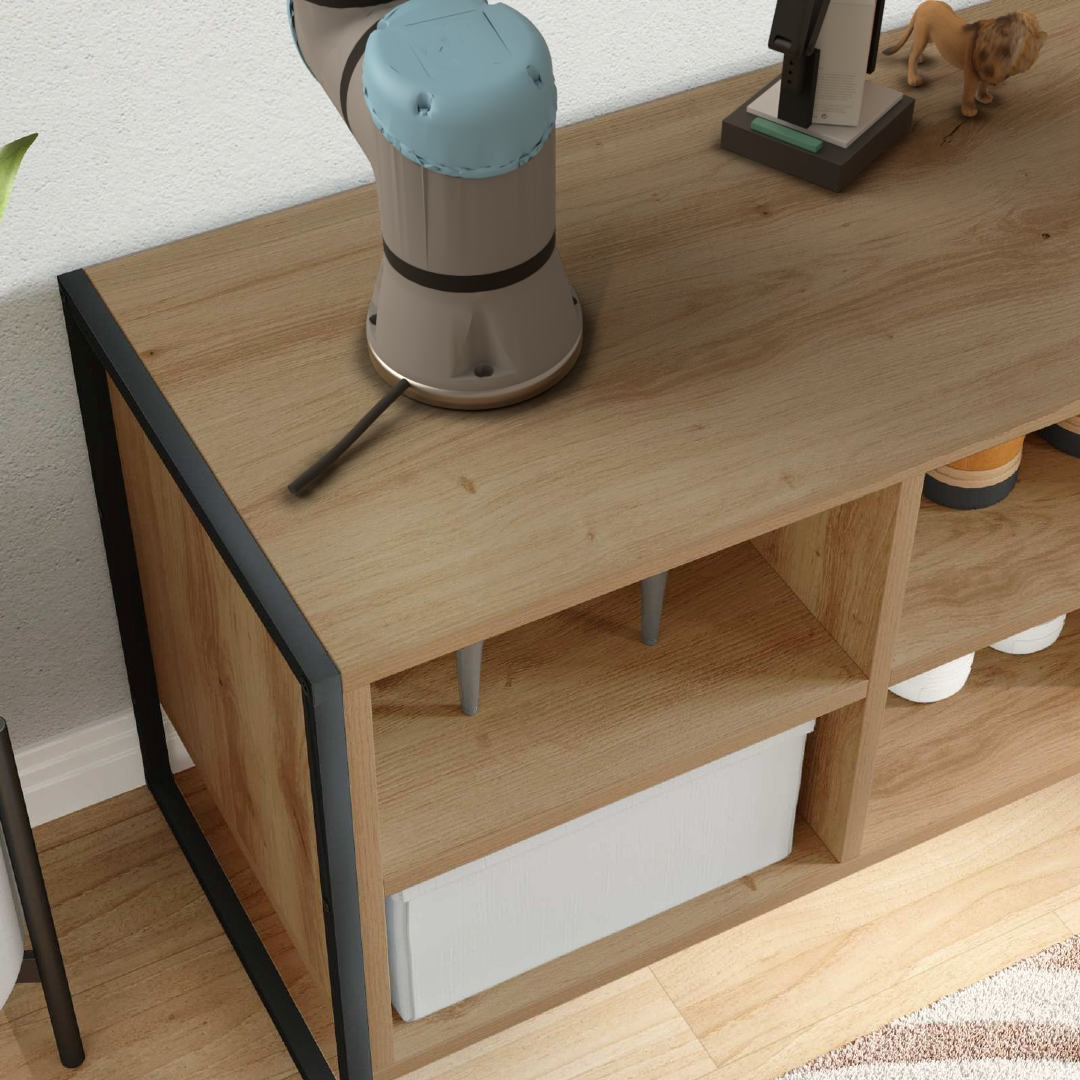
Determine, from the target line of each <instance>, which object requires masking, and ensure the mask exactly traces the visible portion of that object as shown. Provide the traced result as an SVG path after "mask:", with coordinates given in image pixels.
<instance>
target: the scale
mask: <svg viewBox="0 0 1080 1080" xmlns="http://www.w3.org/2000/svg"><path fill="white" fill-rule="evenodd" d="M781 76H782V72H781V73H779V74H778V75H777V76H776V77H774V78H773V79H772V80H771V81H769V82H768V83H767V84H766V85H764V86H763V87H762V88H760V90H758V91H757V92H756V93H754V94H753V95H752V96H751V97H750V98H748V99H747V100H745V101H744V102H743V103H742V104H741V105H740V106H738V107H737V108H736V109H735V110H733V111H732V112H731V113H729V114H728V115H727V116H726V117H724V118H723V119H722V121H721V132H720V145H719V146H720V148H721V149H723V150H727V151H729V152H732V153H734V154H737V155H739V156H742V157H745V158H747V159H750V160H752V161H755V162H757V163H760V164H763V165H765V166H768V167H771V168H773V169H775V170H778V171H781V172H782V173H783V172H784V173H786V174H789V175H791V176H794V177H797V178H799V179H802V180H804V181H807V182H809V183H811V184H814V185H817V186H819V187H822V188H824V189H827V190H830V191H833V192H835V193H840V192H841V190H842V189H844V188H845V187H846V186H847V185H848V184H849V183H850V182H852V180H853V179H855V177H857V176H858V175H859V174H860V173H861V172H862V171H863V170H864V169H866V167H868V166H869V165H870V164H871V163H872V162H873V161H875V160H876V158H877V157H879V156H880V155H881V154H882V153H883V152H884V151H885V150H886V149H887V148H888V147H890V146H891V145H892V144H893V143H894V142H895V141H896V140H897V139H899V137H900V136H902V135H903V134H904V133H905V132H906V131H907V130H908V129H909V128H911V126H912V124H913V123H912V122H913V118H914V111H915V106H916V102H917V101H916V98H915V97H912V96H909V95H906V94H904V93H903V92H901V91H898V90H895V89H893V88H891V87H890V88H889V87H887V86H884V85H881V84H878V83H875V82H873V81H870V80H868V79H865V85H864V91H863V99H862V106H861V112H860V119H859V125H858V126H847V125H834V124H822V123H812V125H811V126H810V127H809V128H808V129H805V128H802V127H799V126H796V125H794V124H791V123H788V122H786V121H783V120H780V119H777V115H778V106H779V96H780V86H781Z"/></svg>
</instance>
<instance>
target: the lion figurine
mask: <svg viewBox="0 0 1080 1080" xmlns="http://www.w3.org/2000/svg"><path fill="white" fill-rule="evenodd" d="M1039 24H1040V22H1039V20H1038V17H1037V16H1036V13H1034V12H1031V11H1029V10H1026V9H1025V10H1020V11H1018V10H1015V11H1013V12H1008V13H1007V14H1005V15H1001V16H999V17H995V18H993V17H992V18H989V19H986V18H983V19H982V18H981V19H978V20H977V21H975V22H973V23H970V22H967V20H964V19H963V18H961V17H960V16H959V15H957V13H956V12H955V11H954V9H953V8H952V7H951V5H950V4H948V3H947V2H945V1H942V0H924V1H923V2H921V3H920V4H919V5H918V6H917V8H916V9H915V10H914V13H913V14H912V16H911V19H910V21H909V23H908V26H907V28H906V30H905V31H904V34H903V35H902V37H901V39H900V40H899V41H898V42H897V43H896V44H895V45H892V46H889V47H887V48H885V49H883V50H881V54H882V55H884V56H887V57H889V56H892V55H895V54H896V53H898V52H899V51H900V49H902V48H903V47H904V46H905V44H906V43H907V42H908V40H909V38H910V37H911V35H912V33H913V41H912V44H911V46H910V49H909V58H908V73H907V83H908V85H909V86H911V87H917V86H921V85H922V84H923V78H922V77H921V76H920V75H919V73H918V64H920V63H923V62H924V61H925V54H924V51H925V50H926V48H927V46H928V44H931V43H933V44H934V45H935V48H936V49H937V52H938V53H939V55H940V56H941V58H942V59H943V60H944V61H945V62H946V63H948V64H949V65H951V66H952V67H954V68H956V69H959V70H961V71H963V92H962V99H961V114H962V115H963V116H964V117H969V118H970V117H974V116H976V115H977V114H978V109H977V108H976V102H975V99H976V100H977V101H978V102H979V103H982V104H985V105H986V104H990V103H992V102H993V99H994V96H993V94H991V93H990V92H987V90H988V88H989V85H990V84H994V85H996V86H998V85H1000V84H1002V83H1004V82H1005V81H1007V80H1008V79H1009V78H1010V77H1015V76H1016V75H1020V74H1025V73H1026V72H1027V71H1029V70H1031V68H1032V67H1033V66H1034V65H1035V64H1036V63H1037V61H1038V60H1039V57H1040V51H1041V49H1043V48H1044V47H1046V45H1047V42H1048V37H1049V35H1048V33H1047V32H1046V31H1044V30H1043V28H1042V27H1041V26H1040V25H1039Z"/></svg>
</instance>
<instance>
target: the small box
mask: <svg viewBox="0 0 1080 1080" xmlns="http://www.w3.org/2000/svg"><path fill="white" fill-rule="evenodd" d="M876 1H877V0H831V1H830V3H829V6H828V9H827V12H826V15H825V18H824V21H823V24H822V27H821V30H820V33H819V36H818V39H817V42H816V45H815V48H817V49H820V50H821V51H820V60H819V68H818V76H817V84H816V93H815V101H814V109H813V117H812V123H822V124H834V125H847V126H858V125H859V119H860V112H861V106H862V99H863V91H864V85H865V80H866V78H867V73H866V70H867V63H868V57H869V50H870V44H871V37H872V30H873V23H874V15H875V8H876Z"/></svg>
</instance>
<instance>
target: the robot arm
mask: <svg viewBox="0 0 1080 1080" xmlns="http://www.w3.org/2000/svg"><path fill="white" fill-rule="evenodd" d="M830 1H831V0H776V4H775V8H774V9H775V10H774V12H773V18H772V22H771V25H770V32H769V36H768V41H767V48H768V49H769V50H772V51H774V52H778V53H780V54H783V59H782V66H781V67H782V68H781V73H782V76H781V86H780V96H779V106H778V115H777V119H780V120H783V121H786V122H788V123H791V124H794V125H796V126H799V127H802V128H805V129H808V128H809V127H810V126H811V125H812V117H813V109H814V101H815V93H816V84H817V76H818V68H819V60H820V51H821V50H820V49H817V48H815V45H816V42H817V39H818V36H819V33H820V30H821V27H822V24H823V21H824V18H825V15H826V12H827V9H828V6H829V3H830ZM885 5H886V0H877V1H876V8H875V15H874V23H873V30H872V37H871V44H870V50H869V57H868V63H867V70H866V75H867V74H868V75H872V74H873V73H874V72H875V71H876V67H877V66H876V65H877V58H878V54H879V53H878V52H879V45H880V39H881V32H882V26H883V19H884V13H885ZM286 13H287V19H288V24H289V29H290V33H291V37H292V41H293V44H294V45H295V48H296V51H297V53H298V55H299V57H300V59H301V61H302V62H303V64H304V66H305V68H306V69H307V71H308V72H309V73H310V74H311V76H312V77H313V78H314V79H315V81H317V82H318V84H319V85H320V86H321V88H322V89H323V92H324V93H325V94H326V96H327V97H328V99H329V100H330V101H331V103H332V104H333V106H334V107H335V110H336V111H337V113H338V114H339V116H340V117H341V119H342V120H343V122H344V123H345V125H346V126H347V128H348V130H349V132H350V133H351V134H352V136H353V138H354V139H355V141H356V143H357V144H358V146H359V147H360V149H361V151H362V152H363V154H364V155H365V157H366V159H367V160H368V161H369V163H370V166H371V169H372V172H373V176H374V180H375V183H376V184H375V185H376V194H377V202H378V210H379V211H378V212H379V221H380V230H381V231H380V232H381V239H382V246H383V256H382V258H381V263H380V266H379V270H378V273H377V277H376V280H375V284H374V287H373V291H372V296H371V300H370V302H369V306H368V309H367V316H366V321H365V334H366V342H367V350H368V356H369V358H370V362H371V364H372V366H373V368H374V369H375V371H376V372H377V374H378V375H379V376H380V377H381V378H382V379H383V381H384V382H385V383H387V384H388V385H389V386H390V387H392V388H391V389H390V390H389V391H388V392H387V393H386V394H385V395H384V396H383V397H382V398H380V400H379V401H378V402H376V404H375V405H373V407H372V408H371V409H369V411H368V412H367V413H366V414H365V415H364V416H362V418H361V419H360V420H359V421H358V422H357V423H356V424H355V425H354V427H352V428H351V429H350V430H349V432H347V434H345V436H343V438H342V439H340V441H339V442H338V443H337V444H335V445H334V446H333V447H332V448H331V449H330V450H329V451H328V452H327V453H325V454H324V455H323V456H322V457H321V458H320V459H319V460H317V461H316V462H315V463H314V464H313V465H311V466H310V467H309V468H307V470H305V471H304V472H302V473H301V474H300V475H299V476H298V477H296V479H294V480H293V481H292V482H290V483H289V484H288V485H287V490H288V491H289V492H290V494H293V495H296V494H298V493H299V492H300V491H301V490H303V488H305V487H306V486H307V485H308V484H310V483H311V482H312V481H313V480H314V479H316V478H317V477H318V476H319V475H320V474H322V473H323V472H324V471H325V470H327V469H328V468H329V467H330V466H331V465H332V464H333V463H334V462H336V461H337V460H338V459H339V458H340V457H341V456H342V455H343V454H344V453H345V452H347V450H349V449H350V448H351V447H352V446H353V445H354V443H355V442H356V441H357V440H358V439H359V438H360V437H362V436H363V434H364V433H365V432H366V431H367V430H368V429H369V428H370V427H371V426H372V425H373V423H375V421H377V420H378V418H380V416H381V415H382V414H383V413H385V411H386V410H387V409H388V408H389V407H391V405H393V403H394V402H396V400H397V399H398V398H400V396H401V395H404V396H407V397H408V398H410V399H413V400H415V401H417V402H419V403H420V402H421V403H424V404H426V405H431V406H434V407H439V408H444V409H450V410H451V409H453V410H468V411H469V410H489V409H495V408H502V407H507V406H510V405H514V404H517V403H521V402H524V401H526V400H527V401H528V400H530V399H532V398H534V397H536V396H538V395H540V394H542V393H544V392H546V391H547V390H549V389H551V388H552V387H553V386H555V385H556V384H558V383H559V382H560V381H561V380H563V379H564V378H565V377H566V376H567V374H568V373H569V372H570V371H571V370H572V369H573V368H574V366H575V364H576V363H577V362H578V358H579V357H580V354H581V351H582V348H583V342H584V341H583V340H584V339H583V338H584V337H583V333H584V330H583V329H584V325H583V324H584V320H583V319H584V317H583V310H582V307H581V304H580V300H579V298H578V294H577V293H576V291H575V288H574V287H573V285H572V284H571V282H570V281H569V279H568V273H567V269H566V267H565V264H564V261H563V258H562V256H561V253H560V251H559V249H558V246H557V234H556V233H557V228H556V225H557V223H556V222H557V221H556V220H557V218H556V217H557V216H556V215H557V214H556V213H557V212H556V211H557V209H556V208H557V206H556V205H557V204H556V200H557V199H556V197H557V196H556V195H557V193H556V192H557V191H556V188H557V187H556V186H557V185H556V181H557V180H556V179H557V178H556V177H557V176H556V173H557V170H556V169H557V168H556V161H557V160H556V156H557V155H556V153H557V152H556V149H557V148H556V143H557V142H556V133H557V132H556V119H557V111H558V88H557V85H556V84H555V82H556V78H555V75H554V67H553V60H552V55H551V51H550V49H549V46H548V43H547V41H546V39H545V37H544V36H543V34H542V33H541V31H540V29H538V27H537V25H535V24H534V23H533V22H532V20H530V19H529V18H528V17H527V16H525V15H524V14H523V13H521V12H520V11H519V10H517V9H515V8H514V7H512V6H510V5H508V4H506V3H503V2H502V1H499V2H496V3H494V4H489V1H488V0H286Z"/></svg>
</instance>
